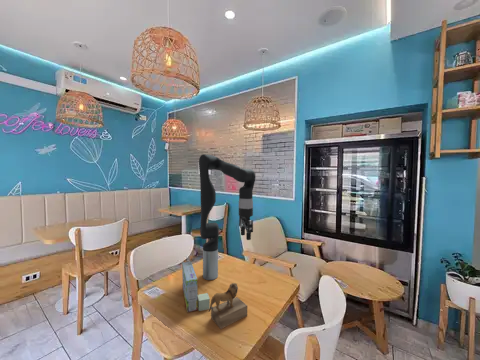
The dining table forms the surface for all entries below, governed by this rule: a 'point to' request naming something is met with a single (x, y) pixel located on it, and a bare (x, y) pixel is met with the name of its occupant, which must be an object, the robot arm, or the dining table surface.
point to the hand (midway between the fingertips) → (245, 237)
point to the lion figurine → (225, 296)
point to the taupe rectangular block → (229, 313)
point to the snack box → (190, 286)
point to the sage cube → (203, 302)
